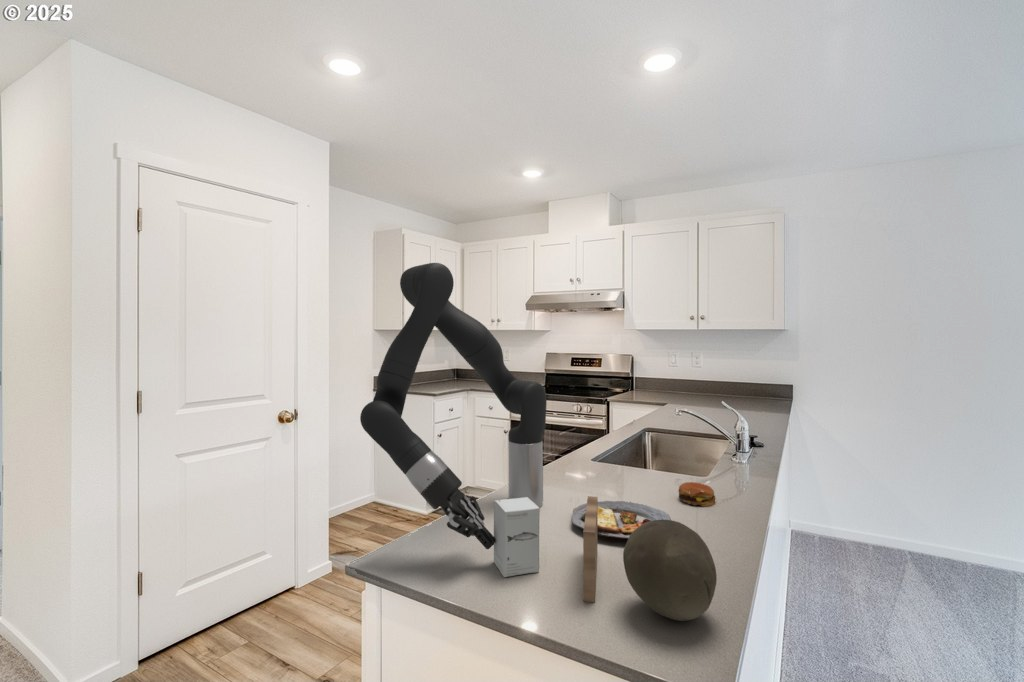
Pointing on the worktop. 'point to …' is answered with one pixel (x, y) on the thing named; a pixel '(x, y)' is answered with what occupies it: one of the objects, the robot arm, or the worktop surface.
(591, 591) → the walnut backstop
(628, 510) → the food plate
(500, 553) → the supplement box
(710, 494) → the burger
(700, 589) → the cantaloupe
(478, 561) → the worktop surface
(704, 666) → the worktop surface
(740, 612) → the worktop surface
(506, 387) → the robot arm
